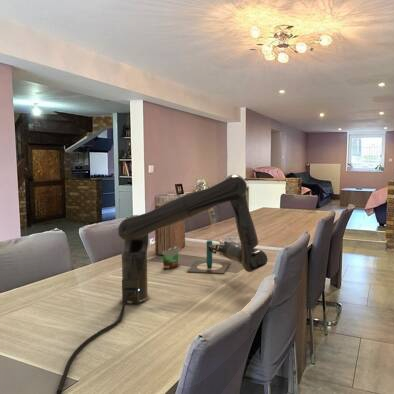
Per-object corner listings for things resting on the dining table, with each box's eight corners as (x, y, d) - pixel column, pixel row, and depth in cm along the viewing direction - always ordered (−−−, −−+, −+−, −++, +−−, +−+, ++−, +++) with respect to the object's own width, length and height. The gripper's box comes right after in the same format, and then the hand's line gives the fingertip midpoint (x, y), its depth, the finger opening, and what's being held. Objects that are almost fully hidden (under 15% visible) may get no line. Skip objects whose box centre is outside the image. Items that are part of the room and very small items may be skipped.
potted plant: (173, 270, 169) (173, 251, 168) (162, 269, 170) (162, 250, 169) (184, 263, 181) (183, 245, 180) (173, 263, 182) (173, 244, 181)
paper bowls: (232, 257, 196) (232, 243, 195) (214, 252, 205) (214, 239, 204) (249, 251, 208) (249, 239, 207) (231, 247, 217) (231, 235, 216)
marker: (211, 268, 171) (211, 241, 170) (206, 268, 171) (206, 241, 170) (212, 267, 174) (212, 240, 173) (207, 266, 174) (207, 240, 173)
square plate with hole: (223, 274, 165) (223, 272, 165) (187, 272, 167) (187, 271, 167) (229, 263, 183) (229, 262, 183) (197, 262, 185) (197, 260, 185)
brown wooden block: (170, 256, 195) (169, 204, 192) (155, 255, 196) (154, 204, 194) (185, 245, 221) (184, 200, 218) (171, 245, 222) (171, 199, 219)
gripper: (247, 241, 154) (230, 235, 167) (220, 245, 146) (203, 238, 159) (247, 257, 155) (229, 250, 168) (219, 262, 147) (203, 254, 160)
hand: (217, 244), depth 164 cm, fingers open, 8 cm apart
